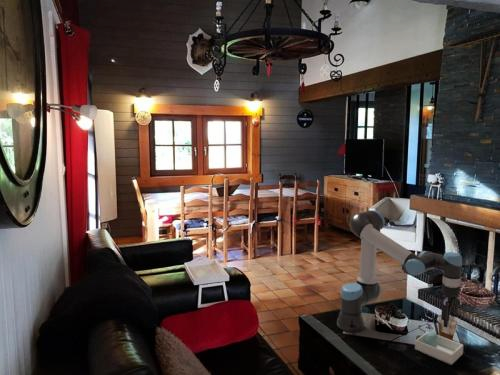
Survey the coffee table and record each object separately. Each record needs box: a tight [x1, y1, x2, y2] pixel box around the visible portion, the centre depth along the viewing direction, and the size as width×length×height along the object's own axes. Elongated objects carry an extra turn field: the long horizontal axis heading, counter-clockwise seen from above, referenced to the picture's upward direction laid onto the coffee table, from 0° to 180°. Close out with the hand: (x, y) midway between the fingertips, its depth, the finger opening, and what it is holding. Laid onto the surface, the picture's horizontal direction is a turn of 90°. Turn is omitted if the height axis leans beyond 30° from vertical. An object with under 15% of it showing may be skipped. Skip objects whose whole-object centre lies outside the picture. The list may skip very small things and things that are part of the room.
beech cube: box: [441, 320, 458, 335], centre depth 187 cm, size 5×5×5 cm
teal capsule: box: [426, 331, 438, 348], centre depth 195 cm, size 5×5×7 cm
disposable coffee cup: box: [436, 314, 458, 341], centre depth 203 cm, size 10×10×12 cm
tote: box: [414, 330, 464, 366], centre depth 193 cm, size 18×14×5 cm
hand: (448, 330), depth 188 cm, fingers closed on beech cube, 5 cm apart
